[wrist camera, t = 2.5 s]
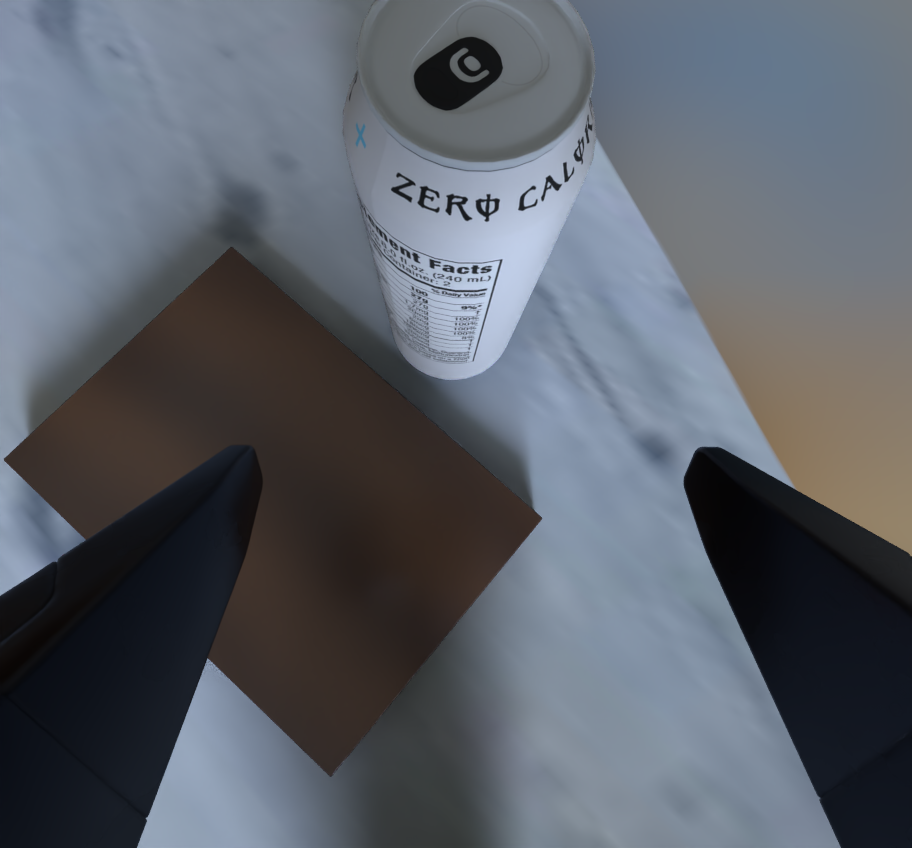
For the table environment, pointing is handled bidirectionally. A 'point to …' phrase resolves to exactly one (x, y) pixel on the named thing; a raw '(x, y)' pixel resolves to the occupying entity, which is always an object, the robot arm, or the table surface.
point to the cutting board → (290, 498)
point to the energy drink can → (466, 163)
